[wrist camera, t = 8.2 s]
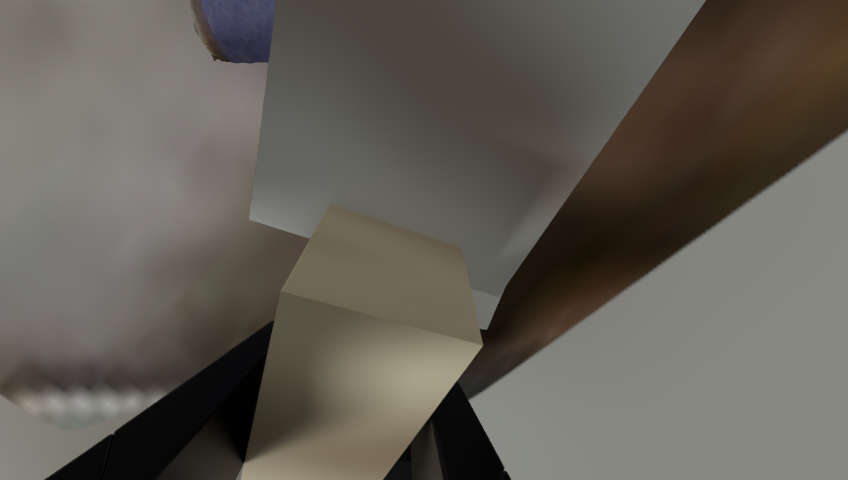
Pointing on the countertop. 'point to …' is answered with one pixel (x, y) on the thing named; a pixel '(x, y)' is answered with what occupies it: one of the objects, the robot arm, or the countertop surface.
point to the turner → (419, 195)
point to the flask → (235, 28)
